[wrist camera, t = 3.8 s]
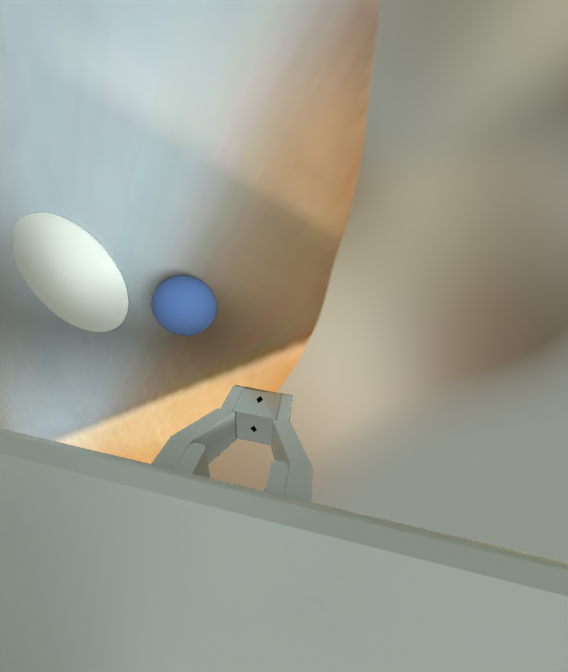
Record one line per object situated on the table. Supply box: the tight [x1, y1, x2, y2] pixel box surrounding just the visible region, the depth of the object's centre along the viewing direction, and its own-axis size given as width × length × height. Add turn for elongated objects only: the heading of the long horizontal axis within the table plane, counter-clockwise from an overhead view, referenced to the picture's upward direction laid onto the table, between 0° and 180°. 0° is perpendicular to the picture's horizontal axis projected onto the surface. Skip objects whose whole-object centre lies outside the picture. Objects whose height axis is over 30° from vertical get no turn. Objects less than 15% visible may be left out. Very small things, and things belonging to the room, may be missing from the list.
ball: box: [152, 276, 217, 335], centre depth 20 cm, size 6×6×6 cm
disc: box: [12, 213, 129, 332], centre depth 24 cm, size 13×13×1 cm
